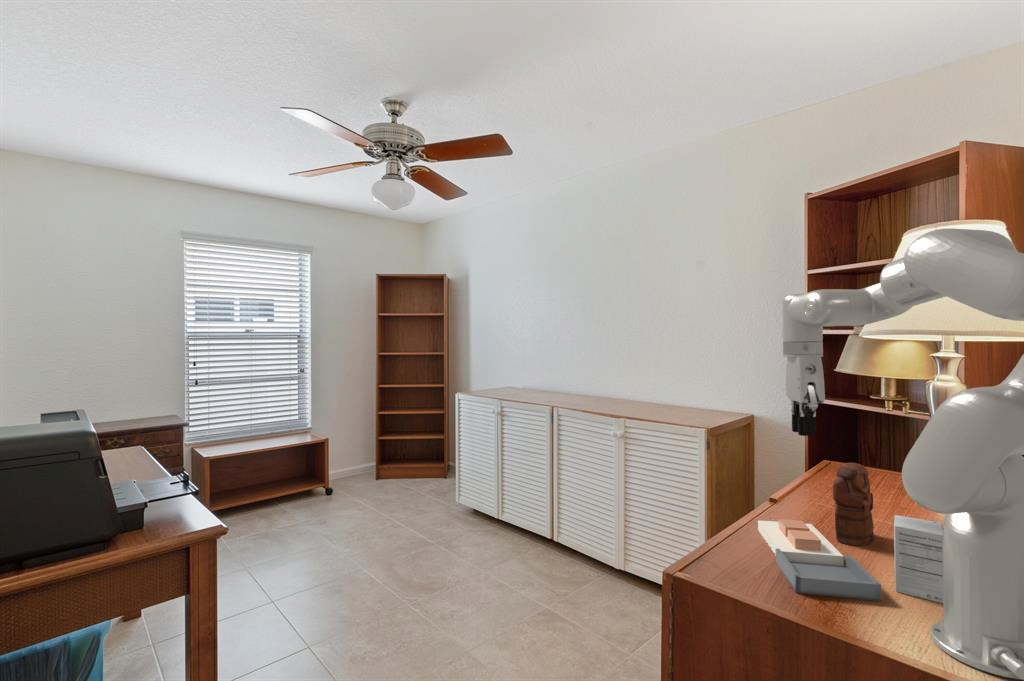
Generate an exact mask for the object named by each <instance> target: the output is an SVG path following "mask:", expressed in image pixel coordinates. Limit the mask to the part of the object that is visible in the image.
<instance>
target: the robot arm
mask: <svg viewBox="0 0 1024 681" xmlns="http://www.w3.org/2000/svg"><path fill="white" fill-rule="evenodd" d="M945 297H947V298H950V299H951V300H953V301H956V302H959V303H961V304H963V305H965V306H968V307H969V308H972V309H975V310H978V311H980V312H982V313H985V314H987V315H990V316H992V317H996V318H999V319H1002V320H1003V319H1004V320H1009V321H1017V322H1018V321H1019V322H1024V253H1023V252H1019V251H1017V249H1016V246H1015V245H1014V243H1013V242H1012V241H1011V239H1010V238H1008V237H1007V236H1006V235H1003V234H1000V233H998V232H995V231H992V230H984V229H969V228H968V229H966V228H939V229H934V230H931V231H928V232H925V233H924V234H922V235H920V236H918V237H917V238H915V239H914V240H913V241H912V242H911V243H910V244H909V245H908V247H907V249H906V250H905V252H904V256H903V257H901V258H898V259H895V260H893V261H891V262H889V263H887V264H886V265H885V266H884V267H883V268H882V270H881V272H880V276H879V282H878V283H875V284H872V285H869V286H867V287H863V288H859V289H850V288H849V289H848V288H847V289H843V288H841V289H839V288H837V289H836V288H835V289H834V288H833V289H832V288H831V289H827V288H824V289H816V290H812V291H810V292H809V291H808V292H806V293H804V292H803V293H792V294H789V295H786V296H784V298H783V300H782V357H785V358H786V366H785V367H786V368H785V391H786V393H785V394H786V397H787V398H788V399H789V400H790V405H791V431H792V432H793V433H798V435H799V436H800V437H802V436H803V437H804V436H805V437H815V436H816V433H817V432H816V431H817V430H816V426H817V425H816V417H817V409H818V407H819V404H823V403H825V400H826V394H825V393H826V390H825V378H824V377H825V376H824V367H823V360H822V357H823V358H824V348H823V347H824V345H823V344H824V343H823V339H824V336H823V334H824V330H823V329H824V327H857V326H858V327H859V326H866V325H869V324H874V323H878V322H882V321H885V320H888V319H891V318H895V317H898V316H900V315H903V314H905V313H906V312H907V311H910V310H911V309H912V308H913V307H915V306H918V305H921V304H925V303H928V302H931V301H936V300H939V299H943V298H945ZM1023 455H1024V353H1023V354H1022V355H1021V357H1020V359H1019V361H1018V362H1017V363H1016V365H1015V367H1014V368H1013V369H1012V371H1011V372H1010V373H1009V375H1007V377H1005V379H1004V380H1003V381H1001V383H999V384H997V385H994V386H979V387H972V388H967V389H962V390H960V391H958V392H956V393H954V394H952V395H950V396H949V397H948V398H946V399H945V400H944V401H942V403H940V404H939V406H938V407H937V408H936V410H935V411H934V413H933V414H932V415H931V418H930V419H929V420H928V421H927V423H926V425H925V426H924V428H923V430H922V431H921V432H920V435H919V436H918V438H916V440H915V442H914V444H913V446H912V447H911V449H910V450H909V451H908V454H906V457H905V459H904V461H903V465H902V467H901V468H902V469H901V479H902V480H901V482H902V484H903V487H904V490H905V491H906V493H907V495H908V496H909V497H910V499H912V501H914V503H916V504H917V505H918V506H920V507H922V508H923V509H926V511H927V510H928V511H931V512H933V513H937V514H943V515H944V520H943V603H942V605H943V621H939V622H935V623H934V624H932V626H931V627H930V637H931V639H932V641H933V642H934V643H935V645H936V646H938V647H939V648H940V649H941V650H942V651H943V652H944V653H946V654H948V655H949V656H951V657H952V658H954V659H955V660H958V661H959V662H962V663H963V664H966V665H968V666H969V667H973V668H975V669H977V670H980V671H983V672H986V673H989V674H991V675H996V676H998V677H999V676H1000V677H1004V678H1007V679H1015V680H1022V681H1024V456H1023Z"/></svg>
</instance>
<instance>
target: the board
mask: <svg viewBox="0 0 1024 681" xmlns="http://www.w3.org/2000/svg"><path fill="white" fill-rule="evenodd" d="M805 524H806V526H807V527H808V528H809V529H810V531H812V532H813V533H814V534H815V535H816V536H817V537H818V538H819V539H820V540H821V551H818V550H806V549H795V548H794V547H793V545H792V544H791V543H790V542H789V540H788V537H785V535H784V534H783V533H782V532H781V530H780V529H779V521H772V520H757V530H758V533H760V535H761V537H762V538H763V539H764V540H766V541H765V543H766V544H767V543H768V544H767V546H768V547H769V548H770V547H771V548H770V550H771V551H772V552H773V554H774V553H775V554H774V555H775V556H776V549H780V550H781V551H782V553H783V554H784V555H785V557H786V558H787V560H788V561H791V562H803V563H814V564H826V565H838V566H845V565H844V562H845V560H844V559H845V555H843V554H842V553H841V552H840V551H839V550H838V549H837V548H836V547H835V546H834V545H833V544H832V543H831V542H830V541H829V540H827V538H826V537H825V536H824V535H823V534H822V533H821V532H820V531H819V530H818V529H817V528H816V527H815V525H814V524H812V523H805Z"/></svg>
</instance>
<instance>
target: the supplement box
mask: <svg viewBox="0 0 1024 681" xmlns="http://www.w3.org/2000/svg"><path fill="white" fill-rule="evenodd" d="M943 526H944V524H943V523H942V522H939V521H932V520H928V519H922V518H916V517H911V516H910V517H909V516H904V515H899V514H895V515H894V520H893V546H894V548H893V550H894V551H893V552H894V556H893V557H894V579H895V581H894V582H895V583H894V584H895V592H897V593H901V594H904V595H909V596H912V597H917V598H921V599H925V600H928V601H932V602H936V603H939V604H943Z"/></svg>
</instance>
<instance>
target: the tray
mask: <svg viewBox="0 0 1024 681" xmlns="http://www.w3.org/2000/svg"><path fill="white" fill-rule="evenodd" d="M844 559H845V560H844V562H845V565H844V566H838V565H826V564H814V563H803V562H791V561H788V560H787V558H786V557H785V555H784V554H783V553H782V551H781V550H780V549H776V555H775V564H776V563H777V564H776V565H777V567H778V566H779V567H778V568H779V570H780V569H781V570H780V572H781V573H782V572H783V573H782V575H783V576H784V575H785V576H784V577H785V579H786V580H787V581H788V583H789V585H790V586H791V587H792V589H793V590H794V592H795V593H796V594H802V595H804V594H805V595H813V596H823V597H834V598H845V599H855V600H865V601H872V602H873V601H876V602H882V584H881V583H880V582H879V581H878V580H877V579H876V578H875V577H873V576H872V575H871V574H870V573H869V572H868V571H867V569H865V567H863V566H862V565H861V564H860V563H859V562H858V561H857V560H856V559H855V558H854V557H853V556H852V555H851V554H849V553H845V555H844Z"/></svg>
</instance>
